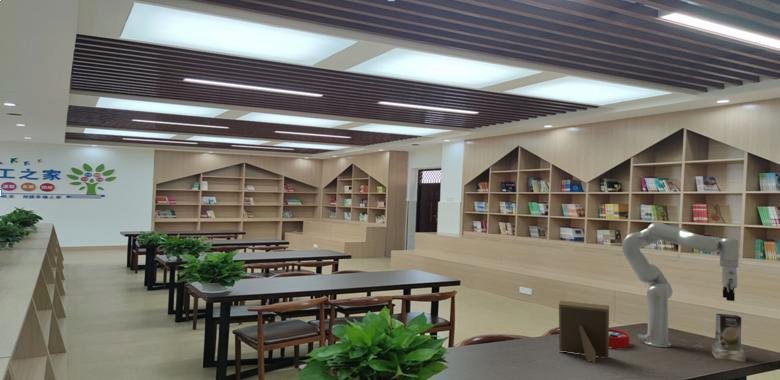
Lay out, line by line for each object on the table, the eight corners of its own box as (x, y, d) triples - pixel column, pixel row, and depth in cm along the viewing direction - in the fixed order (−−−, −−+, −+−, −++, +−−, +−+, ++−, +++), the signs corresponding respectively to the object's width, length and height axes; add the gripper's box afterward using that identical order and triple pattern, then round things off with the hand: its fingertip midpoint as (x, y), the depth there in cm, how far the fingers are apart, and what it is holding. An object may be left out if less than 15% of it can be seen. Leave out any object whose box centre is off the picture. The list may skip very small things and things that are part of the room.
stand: (715, 358, 251) (715, 349, 251) (712, 352, 261) (712, 344, 261) (745, 361, 246) (745, 353, 247) (740, 356, 257) (740, 347, 257)
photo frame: (560, 350, 257) (561, 298, 258) (608, 356, 248) (609, 303, 249) (556, 357, 244) (557, 303, 244) (607, 365, 235) (608, 309, 235)
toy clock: (586, 326, 286) (626, 330, 280) (586, 337, 286) (625, 341, 280) (588, 335, 267) (631, 339, 261) (588, 346, 267) (631, 350, 261)
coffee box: (719, 349, 252) (720, 315, 253) (714, 346, 258) (715, 313, 259) (741, 351, 250) (741, 317, 251) (735, 347, 256) (736, 314, 257)
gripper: (742, 266, 246) (741, 302, 245) (734, 262, 262) (734, 297, 261) (723, 264, 249) (722, 301, 248) (717, 261, 265) (716, 295, 264)
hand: (728, 299), depth 255 cm, fingers open, 9 cm apart
